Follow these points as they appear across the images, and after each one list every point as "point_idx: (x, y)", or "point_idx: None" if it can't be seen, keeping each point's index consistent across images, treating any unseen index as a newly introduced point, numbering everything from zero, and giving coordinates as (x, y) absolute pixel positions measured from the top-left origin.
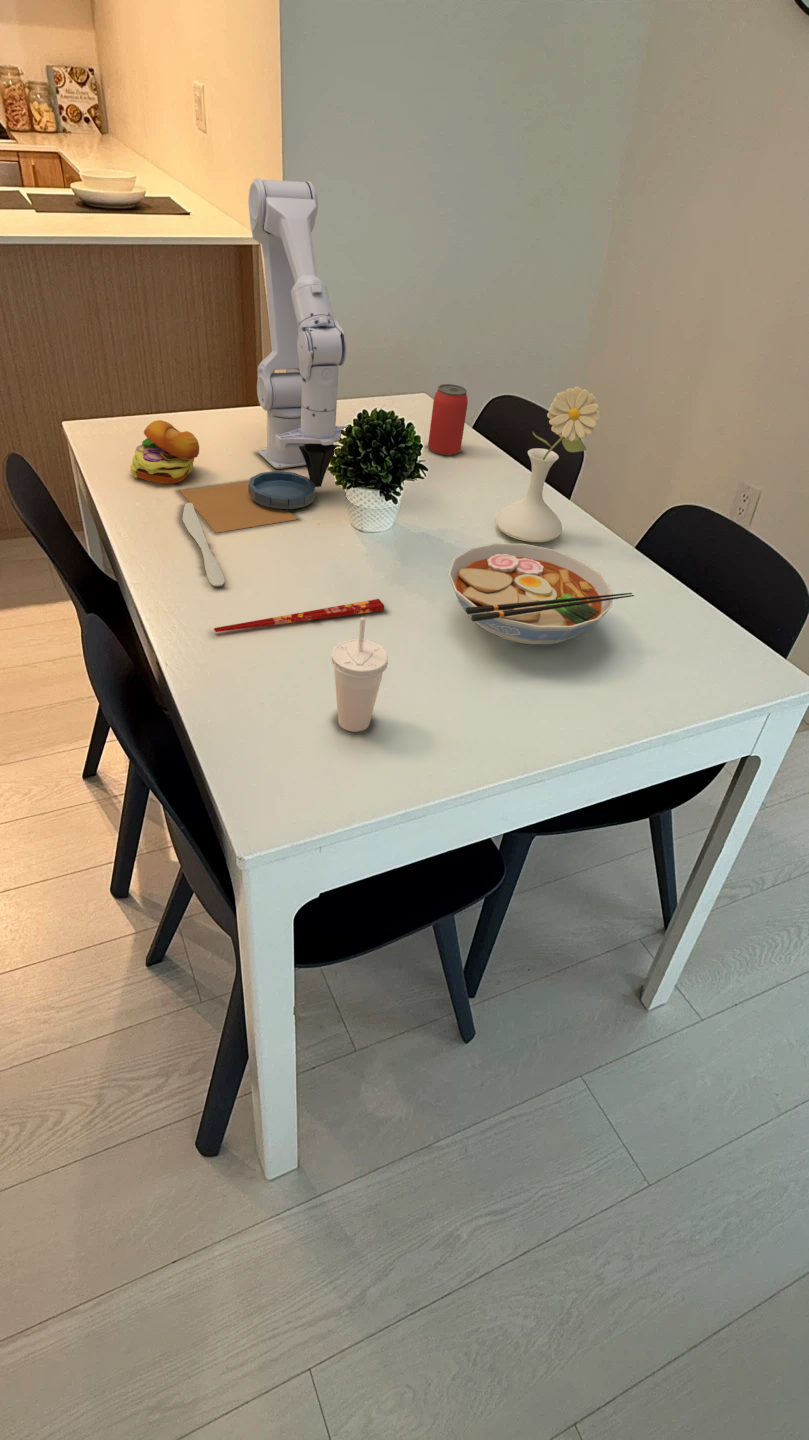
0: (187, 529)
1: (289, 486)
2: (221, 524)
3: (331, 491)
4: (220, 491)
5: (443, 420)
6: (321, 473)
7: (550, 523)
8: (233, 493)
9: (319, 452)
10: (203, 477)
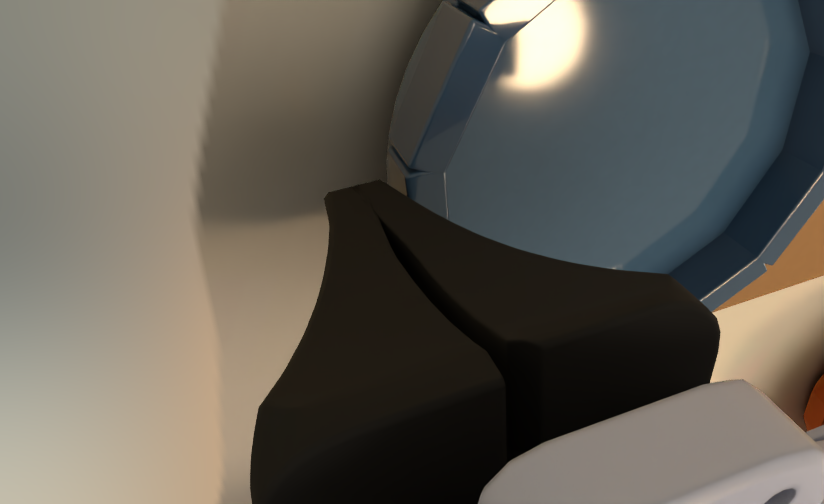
0: None
1: (540, 223)
2: None
3: (200, 223)
4: (818, 228)
5: None
6: (376, 237)
7: None
8: None
9: (596, 340)
10: (778, 358)
